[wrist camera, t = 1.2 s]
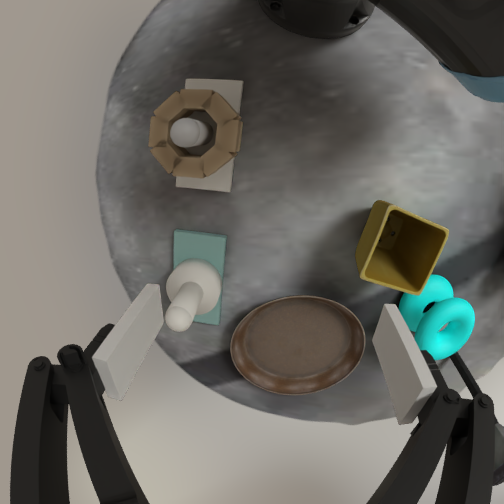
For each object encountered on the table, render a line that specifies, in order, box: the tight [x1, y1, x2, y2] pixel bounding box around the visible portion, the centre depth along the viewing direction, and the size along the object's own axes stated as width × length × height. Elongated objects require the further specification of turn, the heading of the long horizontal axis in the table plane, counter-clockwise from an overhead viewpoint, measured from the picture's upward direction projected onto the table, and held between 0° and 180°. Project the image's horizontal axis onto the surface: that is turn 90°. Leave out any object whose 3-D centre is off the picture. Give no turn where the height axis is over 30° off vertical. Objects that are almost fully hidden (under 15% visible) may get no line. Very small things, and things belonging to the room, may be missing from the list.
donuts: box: [398, 275, 475, 360], centre depth 35 cm, size 10×10×10 cm
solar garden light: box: [449, 352, 504, 486], centre depth 30 cm, size 12×12×30 cm
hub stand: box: [165, 229, 227, 332], centre depth 36 cm, size 14×7×12 cm, turn 173°
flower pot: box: [355, 200, 449, 295], centre depth 32 cm, size 9×9×9 cm
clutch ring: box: [149, 89, 243, 178], centre depth 28 cm, size 9×9×4 cm
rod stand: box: [170, 79, 244, 192], centre depth 28 cm, size 14×7×11 cm, turn 173°
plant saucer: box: [230, 295, 365, 395], centre depth 43 cm, size 21×21×3 cm
